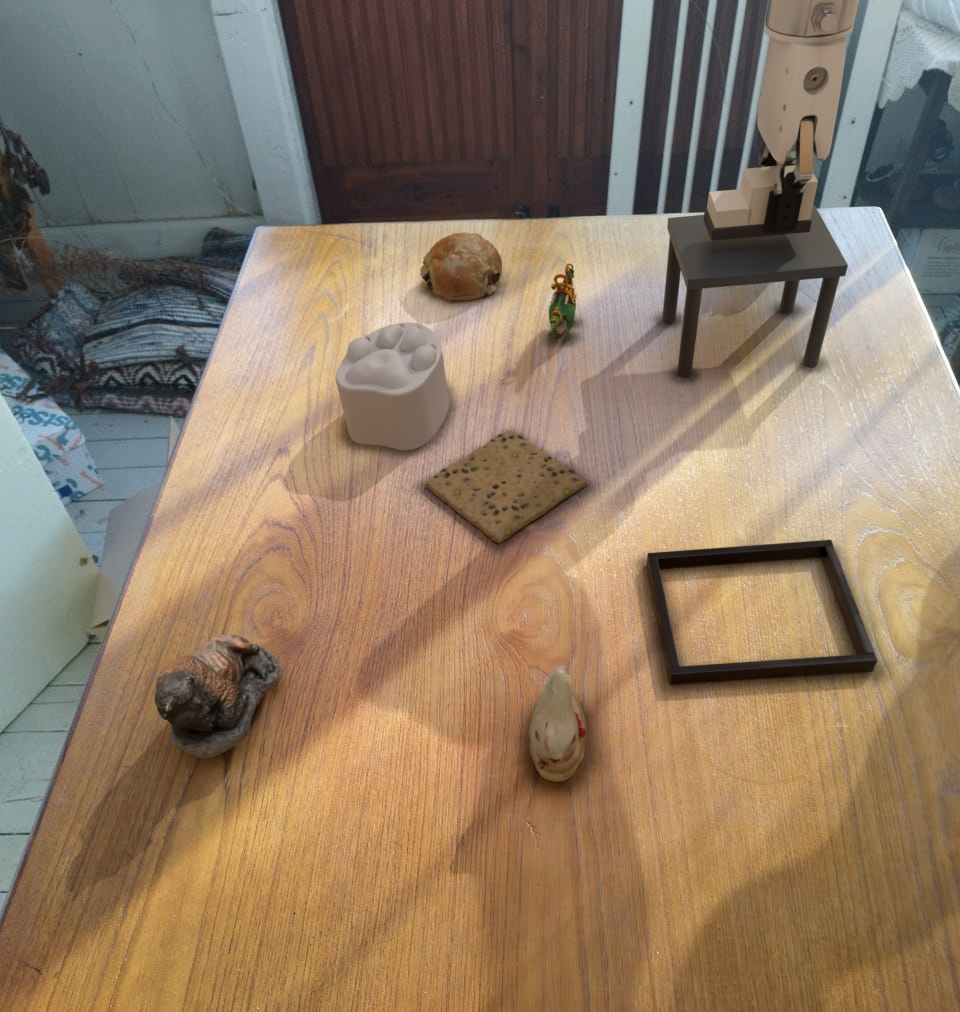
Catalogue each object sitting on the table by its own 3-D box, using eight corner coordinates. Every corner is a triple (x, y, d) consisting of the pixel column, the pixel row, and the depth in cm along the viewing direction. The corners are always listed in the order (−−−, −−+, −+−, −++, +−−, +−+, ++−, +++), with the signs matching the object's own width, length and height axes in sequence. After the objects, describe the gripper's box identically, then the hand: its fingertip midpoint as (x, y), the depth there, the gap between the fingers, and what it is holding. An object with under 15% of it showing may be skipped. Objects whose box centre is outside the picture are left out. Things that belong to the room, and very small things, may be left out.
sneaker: (798, 211, 92) (809, 161, 88) (809, 232, 89) (820, 182, 85) (703, 219, 92) (709, 171, 88) (711, 241, 89) (717, 191, 86)
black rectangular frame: (827, 550, 80) (831, 539, 79) (873, 671, 71) (878, 660, 70) (646, 563, 81) (647, 552, 80) (669, 684, 72) (671, 674, 71)
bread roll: (473, 332, 113) (494, 283, 106) (404, 291, 112) (420, 239, 106) (500, 291, 118) (521, 242, 112) (434, 253, 118) (452, 201, 111)
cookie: (422, 486, 90) (421, 479, 89) (510, 432, 94) (510, 425, 93) (498, 545, 84) (497, 538, 83) (588, 485, 88) (588, 477, 87)
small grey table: (792, 304, 105) (814, 204, 95) (821, 367, 97) (848, 265, 87) (659, 315, 106) (668, 217, 96) (676, 379, 98) (688, 279, 88)
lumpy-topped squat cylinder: (337, 440, 96) (320, 373, 89) (381, 371, 103) (368, 304, 96) (425, 454, 93) (414, 385, 86) (464, 382, 101) (456, 313, 94)
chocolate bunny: (502, 766, 69) (494, 694, 61) (553, 695, 73) (551, 619, 65) (563, 798, 67) (562, 728, 59) (612, 724, 70) (617, 649, 63)
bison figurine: (224, 654, 78) (185, 579, 70) (297, 663, 77) (266, 587, 69) (169, 769, 71) (120, 700, 63) (249, 781, 70) (208, 712, 62)
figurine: (583, 309, 108) (584, 245, 101) (565, 366, 101) (565, 301, 94) (559, 307, 108) (558, 244, 102) (539, 364, 101) (537, 299, 95)
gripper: (885, 39, 70) (832, 256, 85) (828, -25, 81) (789, 177, 95) (791, 49, 71) (754, 263, 85) (747, -17, 81) (720, 184, 95)
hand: (773, 216), depth 90 cm, fingers closed on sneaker, 4 cm apart
